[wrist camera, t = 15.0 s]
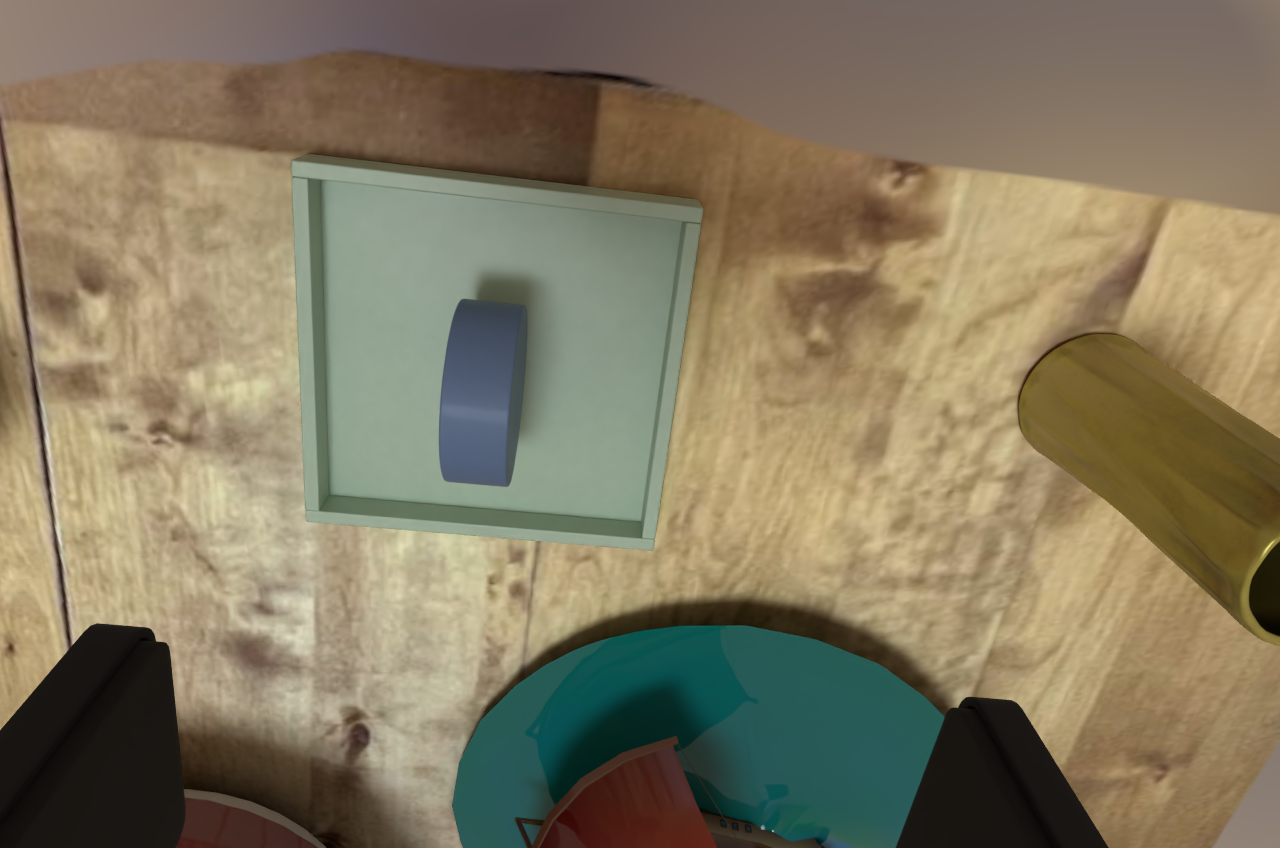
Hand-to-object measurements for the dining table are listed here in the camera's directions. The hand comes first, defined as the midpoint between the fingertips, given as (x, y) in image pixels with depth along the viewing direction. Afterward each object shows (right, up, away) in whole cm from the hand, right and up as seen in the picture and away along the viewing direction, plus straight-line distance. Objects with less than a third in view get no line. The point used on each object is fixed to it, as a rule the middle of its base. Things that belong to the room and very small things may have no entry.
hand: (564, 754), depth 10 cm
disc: (-5, +6, +26) cm, 27 cm away
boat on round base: (+5, -17, +37) cm, 41 cm away
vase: (+21, +5, +28) cm, 35 cm away
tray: (-5, +7, +26) cm, 28 cm away
